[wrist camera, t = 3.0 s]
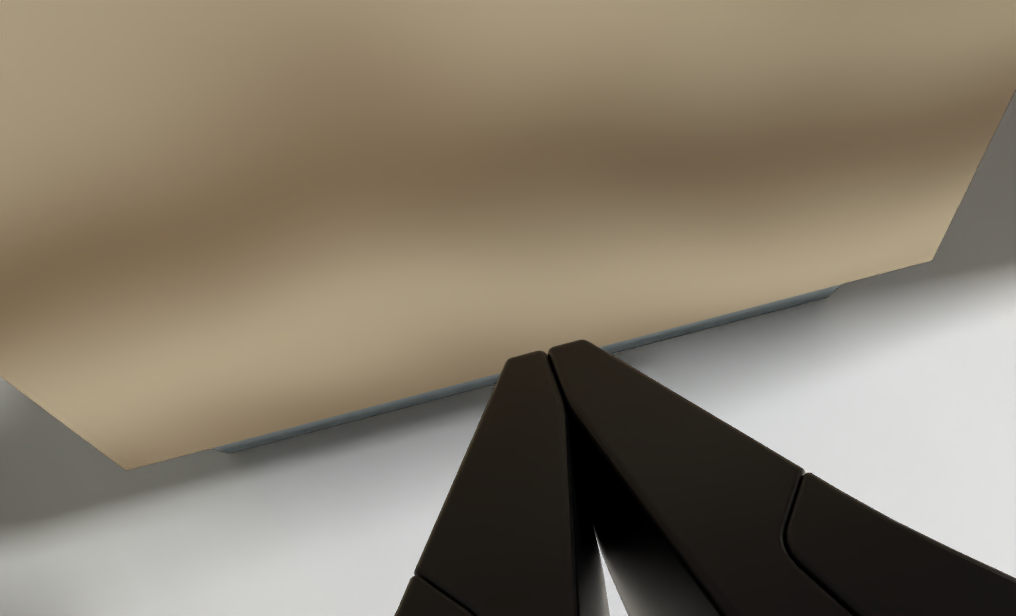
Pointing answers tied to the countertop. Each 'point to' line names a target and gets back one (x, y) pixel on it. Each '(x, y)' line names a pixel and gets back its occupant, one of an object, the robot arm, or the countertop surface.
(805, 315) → the countertop surface
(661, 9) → the birch lid
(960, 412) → the countertop surface
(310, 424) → the slate box
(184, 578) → the countertop surface
